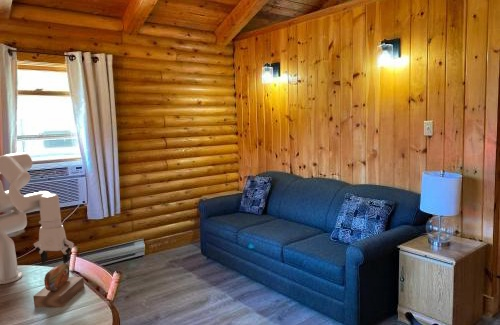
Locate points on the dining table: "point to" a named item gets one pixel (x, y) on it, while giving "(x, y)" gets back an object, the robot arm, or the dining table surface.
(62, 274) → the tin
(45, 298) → the walnut block
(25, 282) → the dining table surface
